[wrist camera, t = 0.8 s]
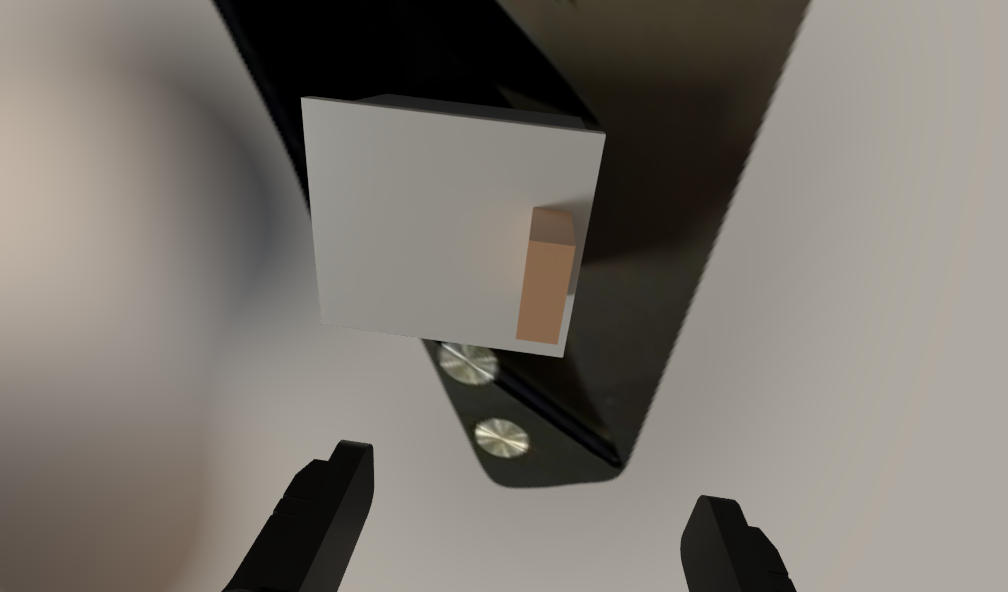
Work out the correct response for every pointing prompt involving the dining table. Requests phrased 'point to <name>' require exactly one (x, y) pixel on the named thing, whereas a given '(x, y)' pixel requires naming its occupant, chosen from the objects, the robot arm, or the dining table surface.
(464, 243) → the lid
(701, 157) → the dining table surface
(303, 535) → the robot arm
